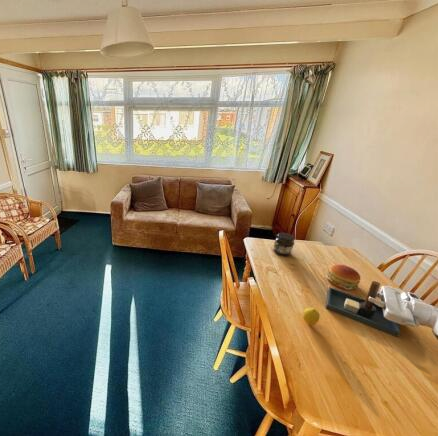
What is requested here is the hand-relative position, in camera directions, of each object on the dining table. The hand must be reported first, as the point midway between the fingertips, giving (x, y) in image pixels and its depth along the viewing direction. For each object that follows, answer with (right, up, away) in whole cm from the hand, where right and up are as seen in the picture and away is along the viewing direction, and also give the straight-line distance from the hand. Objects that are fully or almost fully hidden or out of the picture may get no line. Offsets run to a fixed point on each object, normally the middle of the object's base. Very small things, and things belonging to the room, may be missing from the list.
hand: (368, 295), depth 99 cm
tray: (0, -9, +5) cm, 11 cm away
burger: (+7, -1, +22) cm, 23 cm away
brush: (+1, -9, +3) cm, 9 cm away
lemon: (-26, -12, 0) cm, 29 cm away
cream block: (-2, -8, +6) cm, 10 cm away
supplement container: (-9, +11, +49) cm, 51 cm away
